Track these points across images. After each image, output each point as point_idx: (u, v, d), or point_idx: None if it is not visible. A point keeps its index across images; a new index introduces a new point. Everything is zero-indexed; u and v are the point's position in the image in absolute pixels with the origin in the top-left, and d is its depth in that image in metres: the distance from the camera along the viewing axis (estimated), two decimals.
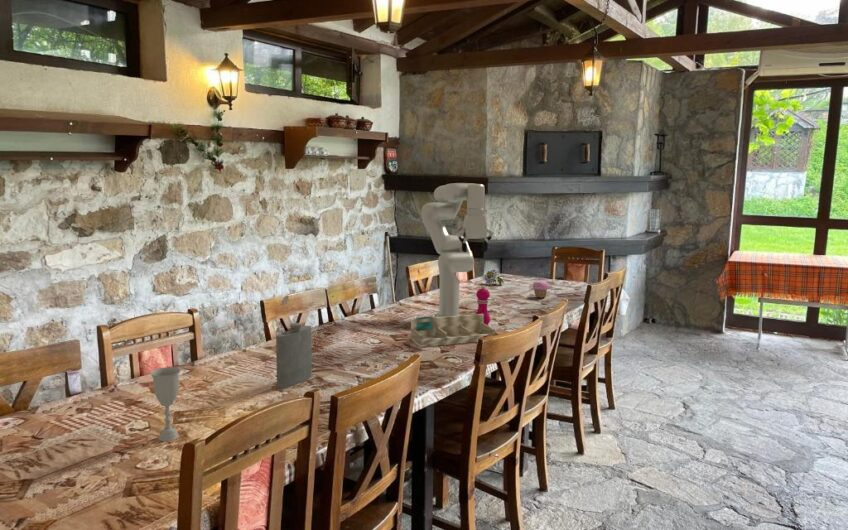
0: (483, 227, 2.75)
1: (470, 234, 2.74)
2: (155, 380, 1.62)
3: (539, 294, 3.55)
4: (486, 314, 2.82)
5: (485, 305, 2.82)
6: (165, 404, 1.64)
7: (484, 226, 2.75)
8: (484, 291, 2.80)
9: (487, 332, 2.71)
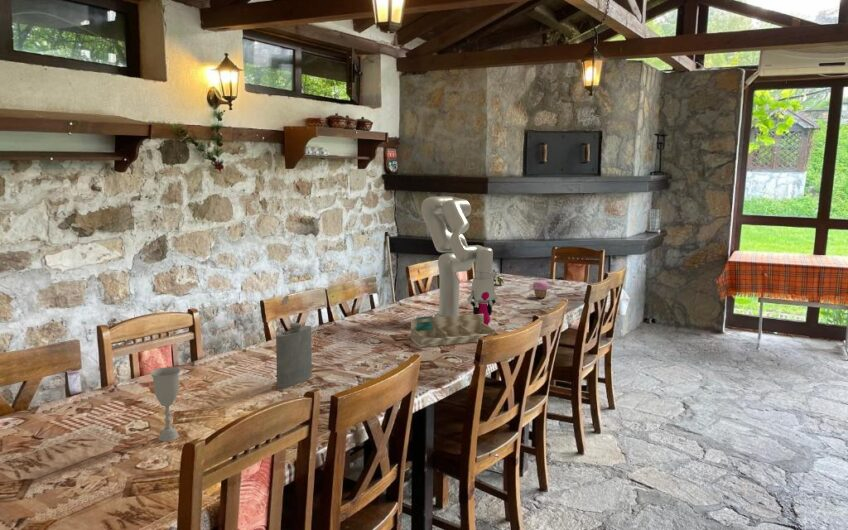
0: (491, 290, 2.81)
1: (478, 297, 2.80)
2: (155, 380, 1.62)
3: (539, 294, 3.55)
4: (486, 314, 2.82)
5: (485, 305, 2.82)
6: (165, 404, 1.64)
7: (492, 289, 2.82)
8: None
9: (487, 332, 2.71)
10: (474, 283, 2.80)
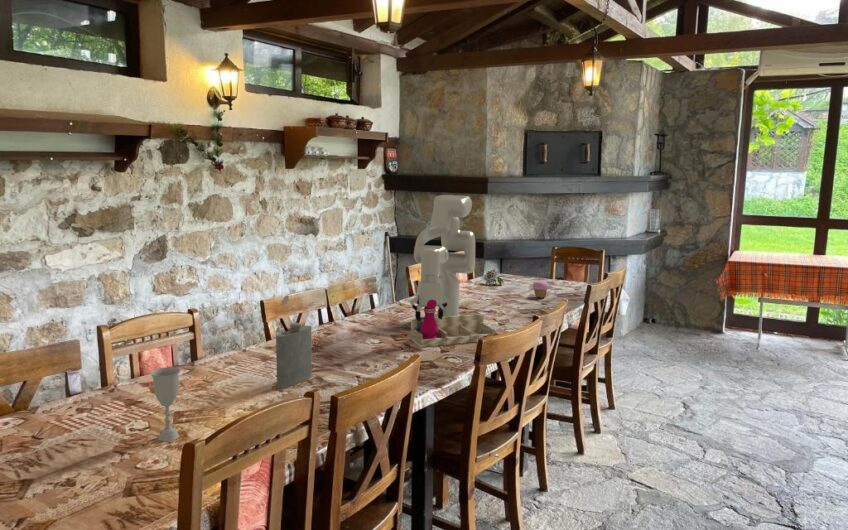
0: (438, 294, 2.58)
1: (424, 302, 2.56)
2: (155, 380, 1.62)
3: (539, 294, 3.55)
4: (433, 324, 2.59)
5: (432, 314, 2.59)
6: (165, 404, 1.64)
7: (439, 293, 2.58)
8: None
9: (487, 332, 2.71)
10: (419, 287, 2.56)
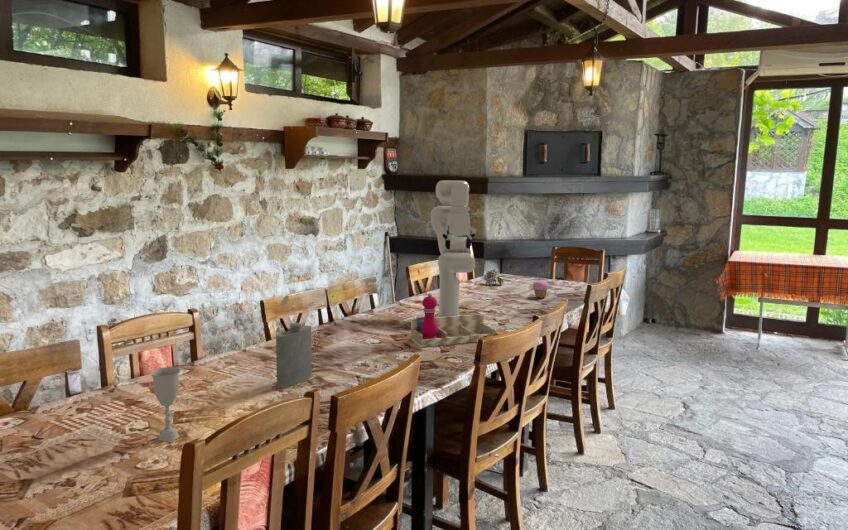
0: (466, 224, 2.77)
1: (453, 231, 2.75)
2: (155, 379, 1.62)
3: (539, 294, 3.55)
4: (433, 324, 2.59)
5: (432, 314, 2.59)
6: (165, 404, 1.64)
7: (467, 223, 2.77)
8: (430, 299, 2.57)
9: (487, 332, 2.71)
10: (449, 217, 2.75)
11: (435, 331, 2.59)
